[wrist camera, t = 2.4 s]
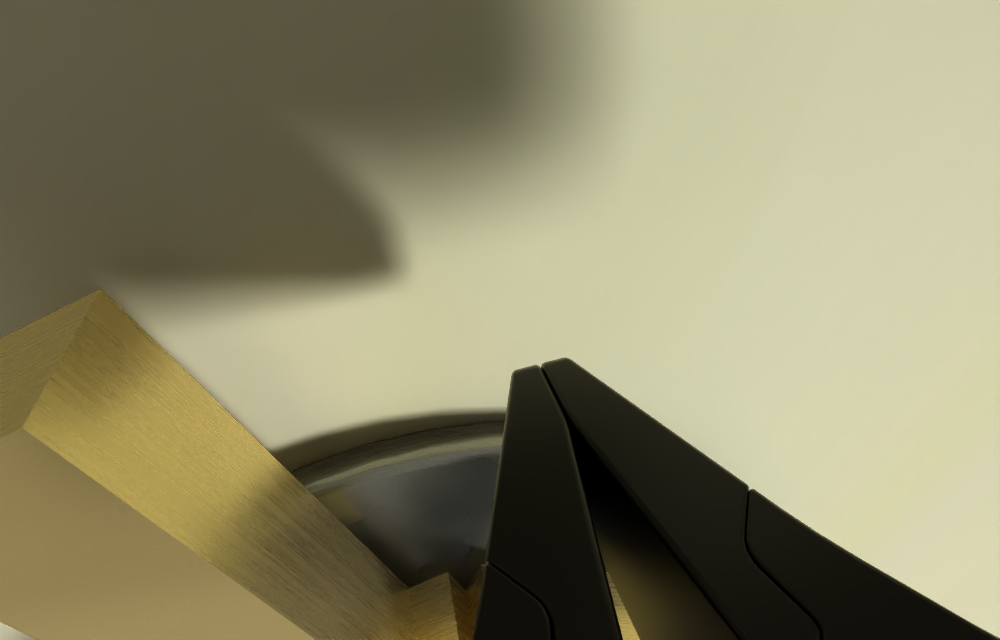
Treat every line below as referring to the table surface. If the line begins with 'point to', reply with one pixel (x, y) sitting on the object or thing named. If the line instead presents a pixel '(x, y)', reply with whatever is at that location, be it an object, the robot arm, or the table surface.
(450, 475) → the cap plate
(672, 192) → the table surface
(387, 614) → the wooden gear crank
